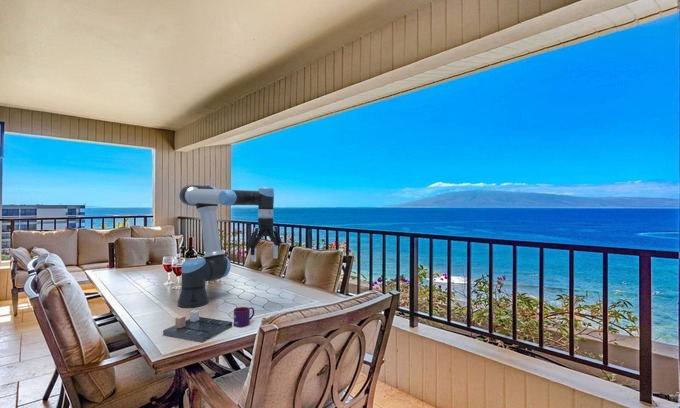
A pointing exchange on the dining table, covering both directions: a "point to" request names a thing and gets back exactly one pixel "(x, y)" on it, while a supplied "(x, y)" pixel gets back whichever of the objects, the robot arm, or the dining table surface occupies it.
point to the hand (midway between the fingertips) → (264, 259)
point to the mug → (242, 316)
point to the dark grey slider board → (198, 329)
